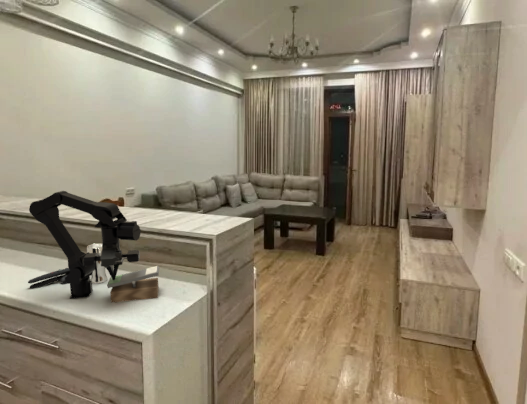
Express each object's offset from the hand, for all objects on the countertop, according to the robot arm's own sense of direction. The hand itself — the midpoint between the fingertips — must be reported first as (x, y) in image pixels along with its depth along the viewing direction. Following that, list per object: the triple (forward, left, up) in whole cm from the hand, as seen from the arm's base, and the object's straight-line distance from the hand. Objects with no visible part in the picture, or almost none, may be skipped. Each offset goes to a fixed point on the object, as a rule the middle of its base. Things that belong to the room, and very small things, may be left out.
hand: (114, 279), depth 131 cm
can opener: (-26, +19, -7) cm, 33 cm away
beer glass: (-9, +17, -7) cm, 20 cm away
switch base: (+7, 0, -7) cm, 10 cm away
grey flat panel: (+7, 0, 0) cm, 7 cm away
